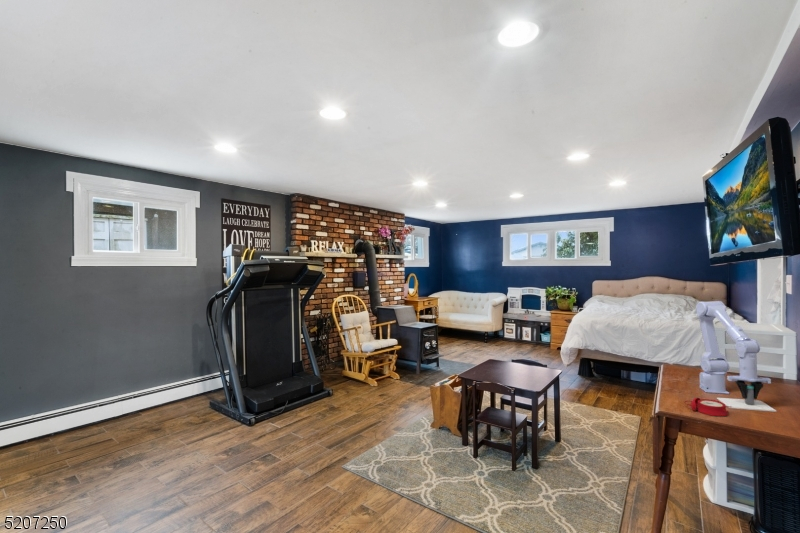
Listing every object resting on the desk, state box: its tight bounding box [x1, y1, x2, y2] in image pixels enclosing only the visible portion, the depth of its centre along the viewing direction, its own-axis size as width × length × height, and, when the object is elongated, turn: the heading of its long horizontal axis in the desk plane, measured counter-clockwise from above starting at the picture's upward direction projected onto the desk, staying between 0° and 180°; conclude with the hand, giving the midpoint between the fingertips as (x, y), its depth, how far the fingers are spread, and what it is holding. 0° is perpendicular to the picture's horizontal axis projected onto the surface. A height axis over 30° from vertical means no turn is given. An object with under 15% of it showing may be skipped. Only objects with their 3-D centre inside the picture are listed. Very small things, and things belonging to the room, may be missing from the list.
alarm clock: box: [684, 397, 731, 417], centre depth 161 cm, size 10×6×15 cm
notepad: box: [716, 397, 777, 413], centre depth 165 cm, size 16×12×1 cm
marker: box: [744, 384, 755, 405], centre depth 165 cm, size 3×3×8 cm
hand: (749, 398), depth 165 cm, fingers closed on marker, 3 cm apart
